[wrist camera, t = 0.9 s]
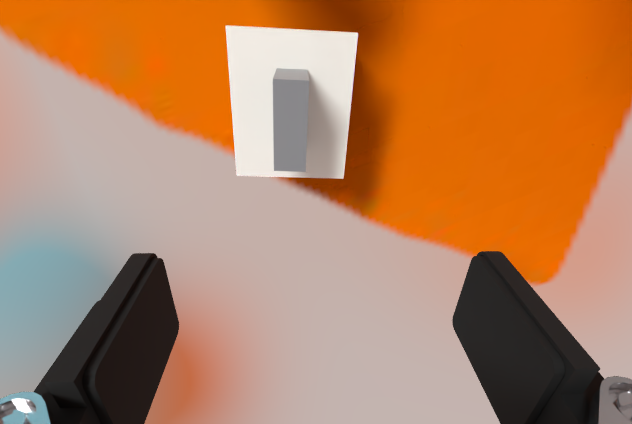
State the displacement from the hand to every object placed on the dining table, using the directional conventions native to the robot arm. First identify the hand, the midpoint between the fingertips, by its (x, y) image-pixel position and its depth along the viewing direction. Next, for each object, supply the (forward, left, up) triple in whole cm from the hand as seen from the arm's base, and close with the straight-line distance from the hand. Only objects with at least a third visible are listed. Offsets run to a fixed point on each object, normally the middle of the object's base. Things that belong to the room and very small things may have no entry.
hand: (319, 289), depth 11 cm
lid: (-1, -1, -20) cm, 20 cm away
